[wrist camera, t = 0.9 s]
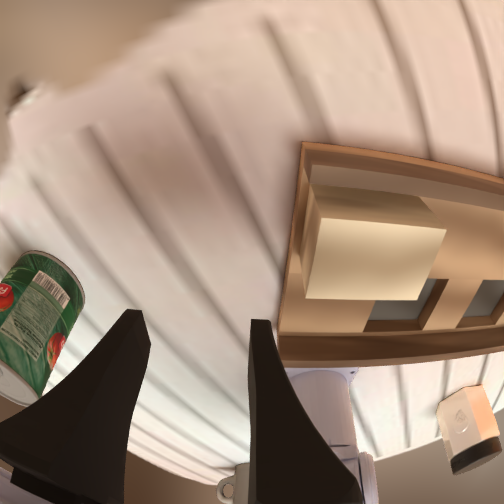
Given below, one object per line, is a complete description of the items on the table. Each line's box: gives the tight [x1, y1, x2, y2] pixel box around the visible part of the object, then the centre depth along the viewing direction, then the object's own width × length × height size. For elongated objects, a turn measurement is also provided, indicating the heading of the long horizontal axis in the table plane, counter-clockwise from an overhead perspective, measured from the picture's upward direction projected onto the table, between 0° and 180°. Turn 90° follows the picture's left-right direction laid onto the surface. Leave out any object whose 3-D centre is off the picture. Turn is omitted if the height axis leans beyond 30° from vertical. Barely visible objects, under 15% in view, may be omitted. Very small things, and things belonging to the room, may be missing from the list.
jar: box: [436, 385, 502, 475], centre depth 33 cm, size 9×8×12 cm
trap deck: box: [277, 142, 504, 368], centre depth 21 cm, size 16×26×4 cm, turn 87°
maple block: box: [299, 184, 447, 300], centre depth 17 cm, size 5×7×4 cm
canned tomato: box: [0, 251, 85, 407], centre depth 21 cm, size 8×8×11 cm
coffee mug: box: [216, 463, 250, 504], centre depth 49 cm, size 13×10×10 cm
